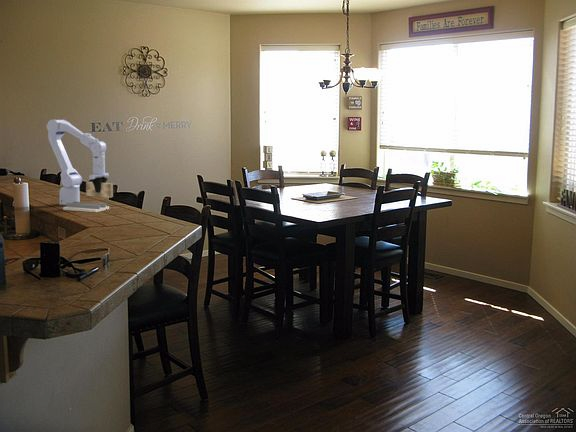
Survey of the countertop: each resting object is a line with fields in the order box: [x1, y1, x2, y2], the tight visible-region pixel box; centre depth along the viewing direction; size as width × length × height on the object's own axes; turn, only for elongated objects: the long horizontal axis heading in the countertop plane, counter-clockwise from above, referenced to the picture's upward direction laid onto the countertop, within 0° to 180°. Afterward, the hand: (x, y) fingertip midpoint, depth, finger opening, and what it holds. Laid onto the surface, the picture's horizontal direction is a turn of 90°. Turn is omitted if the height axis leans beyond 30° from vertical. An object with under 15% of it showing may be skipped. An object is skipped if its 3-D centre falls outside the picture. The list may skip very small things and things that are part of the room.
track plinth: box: [62, 201, 110, 213], centre depth 294 cm, size 18×12×3 cm, turn 75°
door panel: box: [85, 181, 114, 198], centre depth 304 cm, size 14×2×7 cm, turn 75°
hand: (99, 192), depth 304 cm, fingers closed on door panel, 2 cm apart
